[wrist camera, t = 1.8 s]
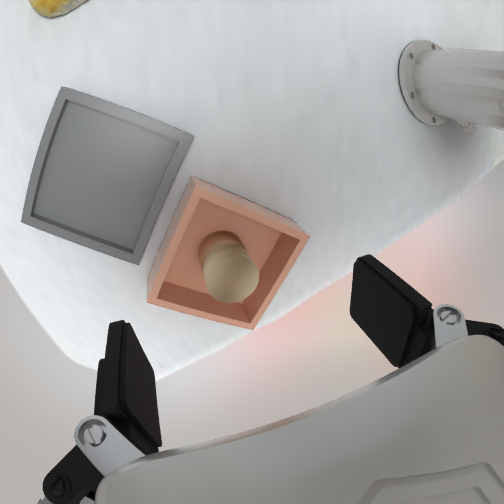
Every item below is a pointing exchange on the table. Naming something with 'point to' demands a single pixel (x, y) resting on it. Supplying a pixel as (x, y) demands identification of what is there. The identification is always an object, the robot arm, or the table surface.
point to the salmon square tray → (251, 235)
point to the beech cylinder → (227, 267)
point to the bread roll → (55, 6)
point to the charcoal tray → (102, 174)
